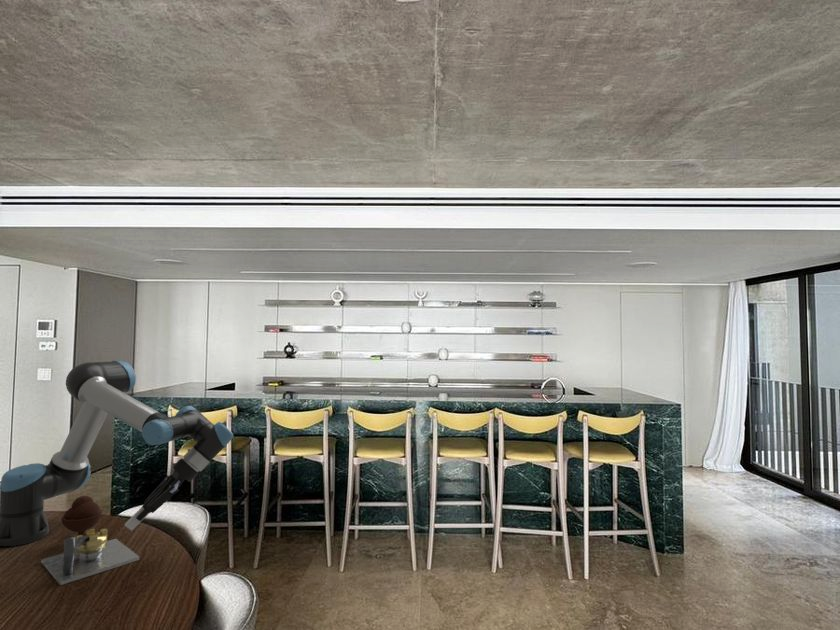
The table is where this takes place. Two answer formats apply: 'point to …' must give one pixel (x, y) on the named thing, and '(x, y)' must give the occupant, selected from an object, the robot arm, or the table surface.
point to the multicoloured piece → (82, 546)
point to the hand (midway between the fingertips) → (128, 527)
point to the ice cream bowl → (82, 515)
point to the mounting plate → (91, 562)
